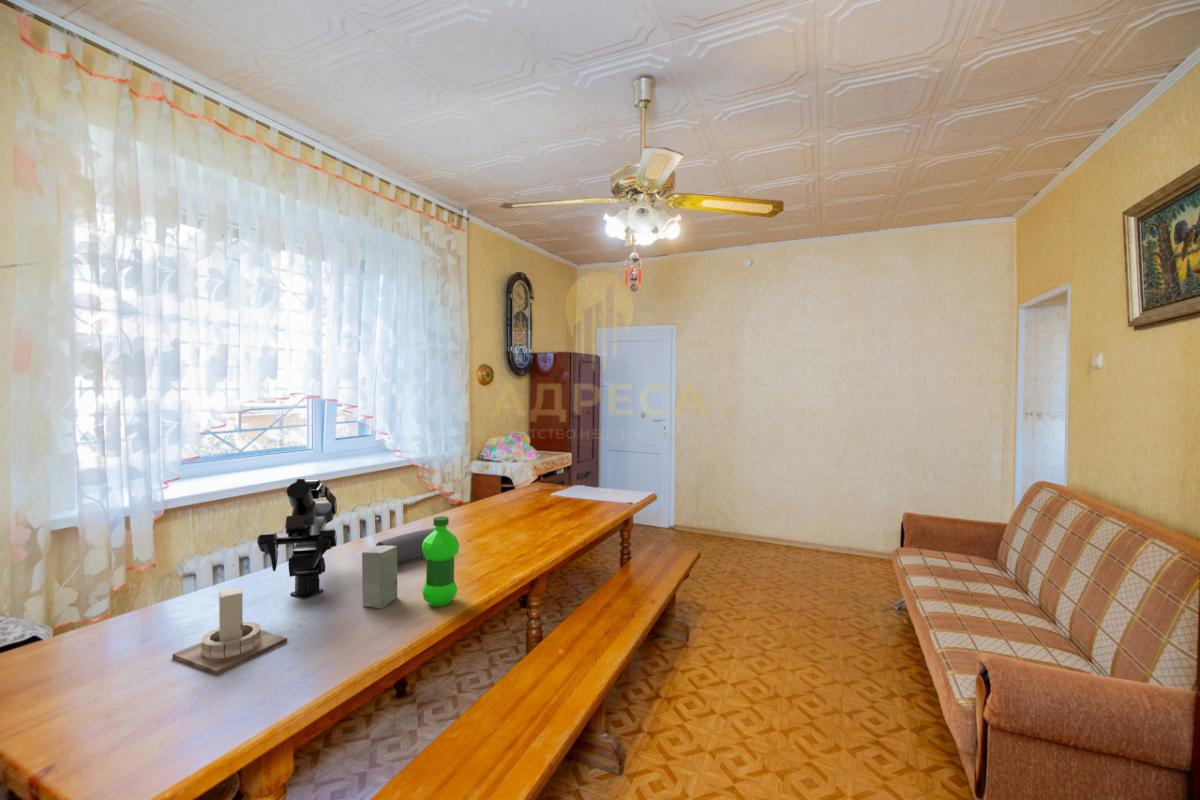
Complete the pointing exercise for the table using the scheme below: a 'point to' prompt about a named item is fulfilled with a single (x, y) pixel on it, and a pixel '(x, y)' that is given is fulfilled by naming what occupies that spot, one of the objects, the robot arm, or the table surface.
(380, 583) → the skincare box
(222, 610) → the box
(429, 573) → the plastic bottle
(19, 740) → the table surface
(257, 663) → the table surface
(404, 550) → the bluetooth speaker
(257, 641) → the ring socket
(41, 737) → the table surface
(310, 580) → the robot arm
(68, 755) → the table surface
